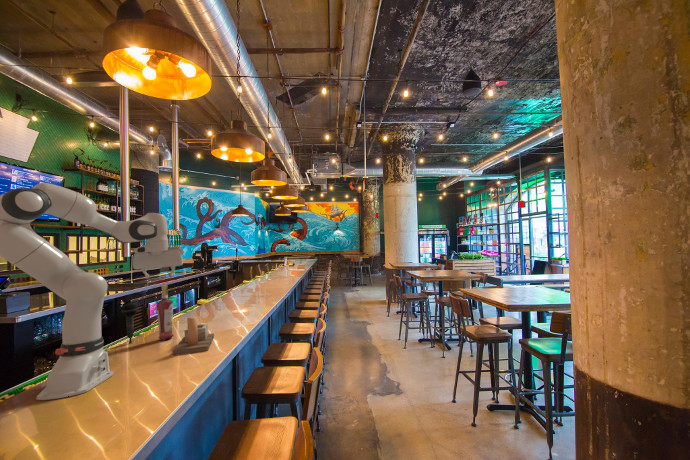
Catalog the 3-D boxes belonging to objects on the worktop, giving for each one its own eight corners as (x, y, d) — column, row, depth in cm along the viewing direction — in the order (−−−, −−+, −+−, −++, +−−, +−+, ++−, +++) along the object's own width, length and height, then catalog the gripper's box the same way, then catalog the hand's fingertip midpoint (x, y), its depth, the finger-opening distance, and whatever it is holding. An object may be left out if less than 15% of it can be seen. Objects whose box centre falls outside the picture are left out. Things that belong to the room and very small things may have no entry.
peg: (197, 345, 143) (196, 318, 144) (187, 346, 142) (186, 319, 143) (198, 342, 147) (197, 316, 148) (189, 343, 146) (188, 317, 147)
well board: (207, 350, 141) (207, 333, 141) (172, 355, 137) (172, 337, 137) (214, 337, 162) (213, 322, 162) (184, 340, 158) (183, 325, 158)
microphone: (123, 342, 160) (122, 303, 161) (139, 340, 163) (138, 301, 164) (120, 346, 154) (119, 305, 155) (137, 344, 157) (136, 303, 158)
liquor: (169, 341, 159) (167, 285, 160) (154, 341, 160) (153, 285, 161) (177, 336, 167) (175, 283, 168) (163, 337, 167) (161, 284, 168)
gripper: (183, 245, 153) (185, 274, 153) (135, 249, 147) (136, 278, 147) (181, 246, 147) (182, 275, 147) (130, 249, 141) (132, 280, 141)
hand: (159, 277), depth 147 cm, fingers open, 8 cm apart
